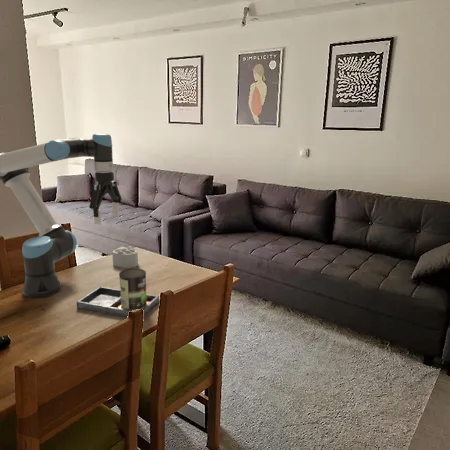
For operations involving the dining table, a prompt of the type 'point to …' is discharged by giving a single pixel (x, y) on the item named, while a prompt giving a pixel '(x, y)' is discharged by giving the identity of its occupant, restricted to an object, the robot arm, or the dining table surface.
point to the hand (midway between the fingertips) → (107, 220)
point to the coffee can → (133, 289)
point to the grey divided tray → (111, 302)
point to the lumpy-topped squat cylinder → (125, 257)
